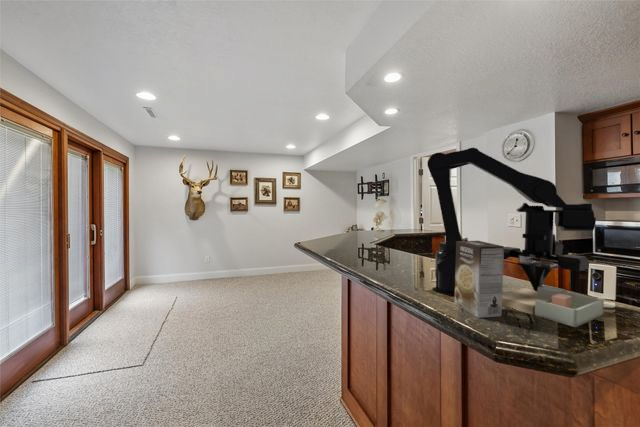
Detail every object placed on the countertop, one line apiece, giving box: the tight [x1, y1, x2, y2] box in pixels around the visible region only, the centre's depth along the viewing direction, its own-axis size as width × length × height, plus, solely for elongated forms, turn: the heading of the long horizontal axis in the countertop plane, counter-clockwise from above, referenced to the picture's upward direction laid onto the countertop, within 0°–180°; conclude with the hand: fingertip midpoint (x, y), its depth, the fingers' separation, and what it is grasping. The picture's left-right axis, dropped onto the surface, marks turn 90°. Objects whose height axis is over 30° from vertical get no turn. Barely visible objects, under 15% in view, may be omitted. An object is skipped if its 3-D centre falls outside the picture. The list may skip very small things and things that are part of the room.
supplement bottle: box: [434, 241, 445, 278], centre depth 100 cm, size 7×7×12 cm
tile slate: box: [537, 284, 565, 301], centre depth 74 cm, size 4×4×2 cm
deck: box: [502, 287, 552, 315], centre depth 76 cm, size 9×14×2 cm, turn 120°
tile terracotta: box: [552, 293, 572, 309], centre depth 68 cm, size 4×4×2 cm
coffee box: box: [453, 240, 505, 319], centre depth 71 cm, size 9×6×16 cm
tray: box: [534, 291, 605, 328], centre depth 68 cm, size 8×14×4 cm, turn 120°
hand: (537, 291), depth 77 cm, fingers closed
